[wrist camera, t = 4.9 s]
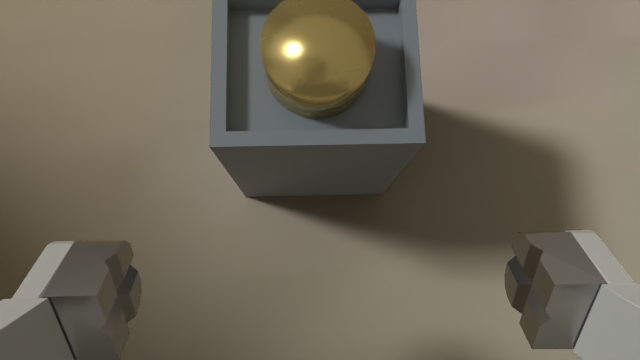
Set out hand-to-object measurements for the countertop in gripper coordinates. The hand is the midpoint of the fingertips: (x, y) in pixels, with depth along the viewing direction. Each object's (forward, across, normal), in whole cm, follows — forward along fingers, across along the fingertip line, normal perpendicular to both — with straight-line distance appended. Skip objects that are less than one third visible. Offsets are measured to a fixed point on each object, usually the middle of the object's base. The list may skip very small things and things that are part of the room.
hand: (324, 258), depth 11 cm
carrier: (+10, 0, +3) cm, 10 cm away
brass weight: (+5, 0, -2) cm, 6 cm away
